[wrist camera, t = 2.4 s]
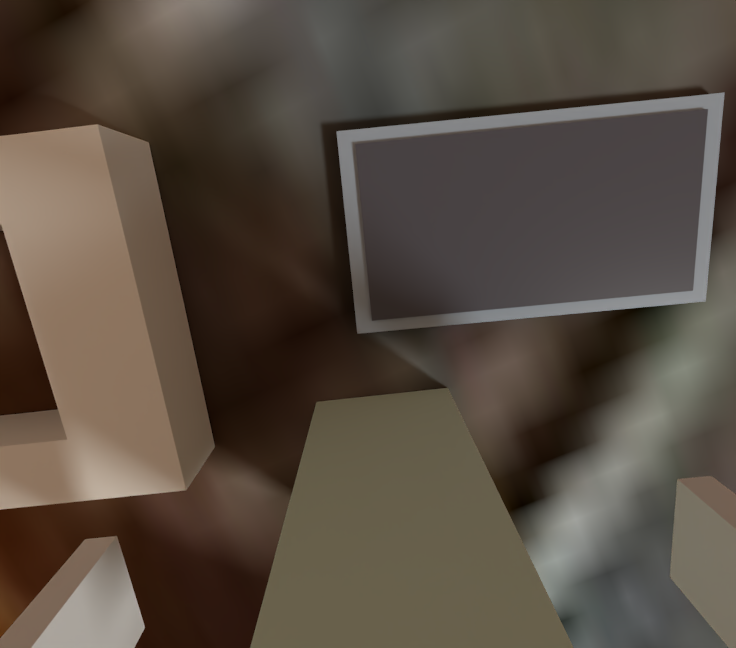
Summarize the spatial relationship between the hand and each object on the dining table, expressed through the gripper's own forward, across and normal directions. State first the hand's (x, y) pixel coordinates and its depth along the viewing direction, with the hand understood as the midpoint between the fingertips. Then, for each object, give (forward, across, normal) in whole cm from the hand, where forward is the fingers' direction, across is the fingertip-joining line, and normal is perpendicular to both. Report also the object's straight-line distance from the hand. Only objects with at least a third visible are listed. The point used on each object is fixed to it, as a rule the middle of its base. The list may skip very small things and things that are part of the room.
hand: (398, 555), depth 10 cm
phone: (+6, -5, -7) cm, 10 cm away
